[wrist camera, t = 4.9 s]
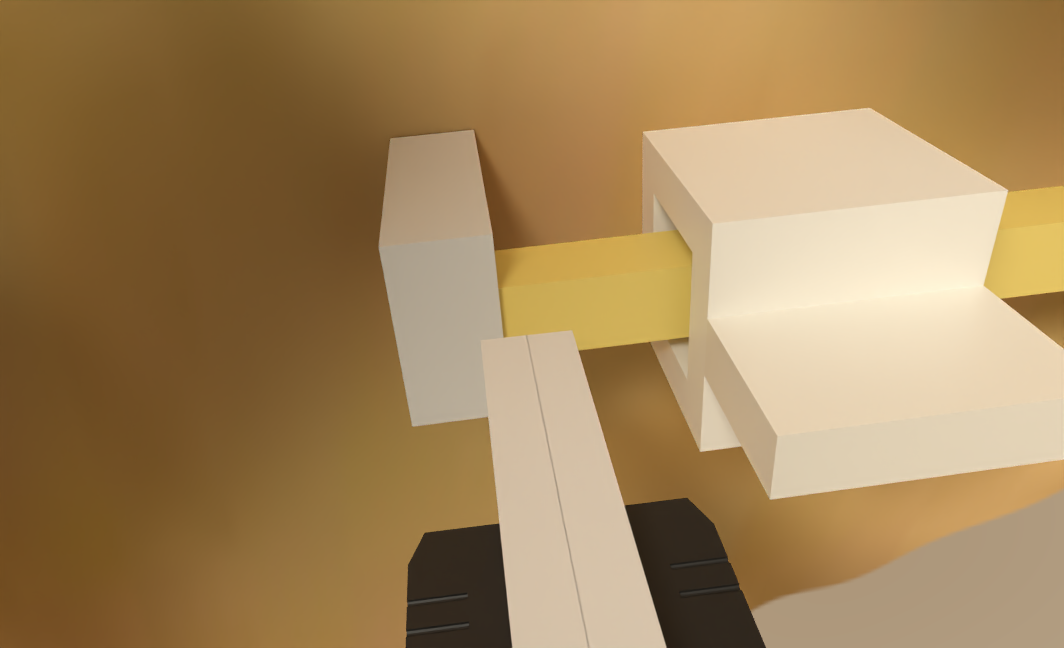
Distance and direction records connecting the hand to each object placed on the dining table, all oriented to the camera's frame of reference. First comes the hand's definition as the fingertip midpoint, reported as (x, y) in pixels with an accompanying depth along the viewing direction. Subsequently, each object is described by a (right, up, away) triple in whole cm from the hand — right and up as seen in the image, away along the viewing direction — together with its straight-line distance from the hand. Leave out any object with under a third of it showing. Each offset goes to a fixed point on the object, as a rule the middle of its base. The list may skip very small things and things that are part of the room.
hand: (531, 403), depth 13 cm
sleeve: (+5, +4, +5) cm, 8 cm away
